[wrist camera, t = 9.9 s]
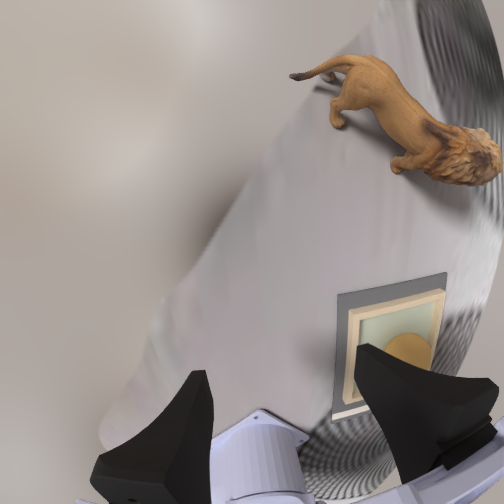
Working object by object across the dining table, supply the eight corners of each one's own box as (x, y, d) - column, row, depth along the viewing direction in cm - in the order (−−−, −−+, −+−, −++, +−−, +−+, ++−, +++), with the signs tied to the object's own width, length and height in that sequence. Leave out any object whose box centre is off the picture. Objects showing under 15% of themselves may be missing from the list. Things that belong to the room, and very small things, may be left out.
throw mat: (420, 392, 26) (426, 398, 24) (330, 422, 25) (334, 430, 24) (445, 271, 22) (453, 275, 21) (337, 294, 21) (343, 300, 20)
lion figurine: (440, 147, 19) (515, 141, 11) (424, 197, 20) (502, 209, 12) (299, 55, 17) (338, -11, 8) (272, 108, 18) (303, 54, 9)
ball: (385, 374, 24) (409, 402, 19) (364, 352, 23) (389, 382, 18) (419, 340, 23) (446, 363, 19) (400, 315, 22) (431, 338, 18)
